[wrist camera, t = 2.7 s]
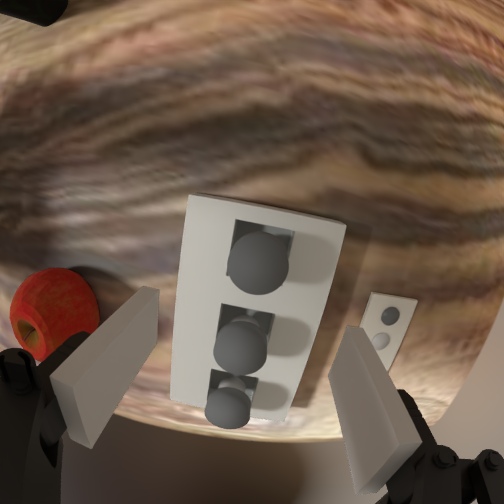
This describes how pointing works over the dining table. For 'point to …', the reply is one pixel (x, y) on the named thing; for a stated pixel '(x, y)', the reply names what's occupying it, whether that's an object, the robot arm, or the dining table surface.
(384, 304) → the pattern card
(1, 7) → the cup
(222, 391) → the button
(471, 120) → the dining table surface
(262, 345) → the button
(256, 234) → the button
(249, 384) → the board
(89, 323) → the apple
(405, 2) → the dining table surface
